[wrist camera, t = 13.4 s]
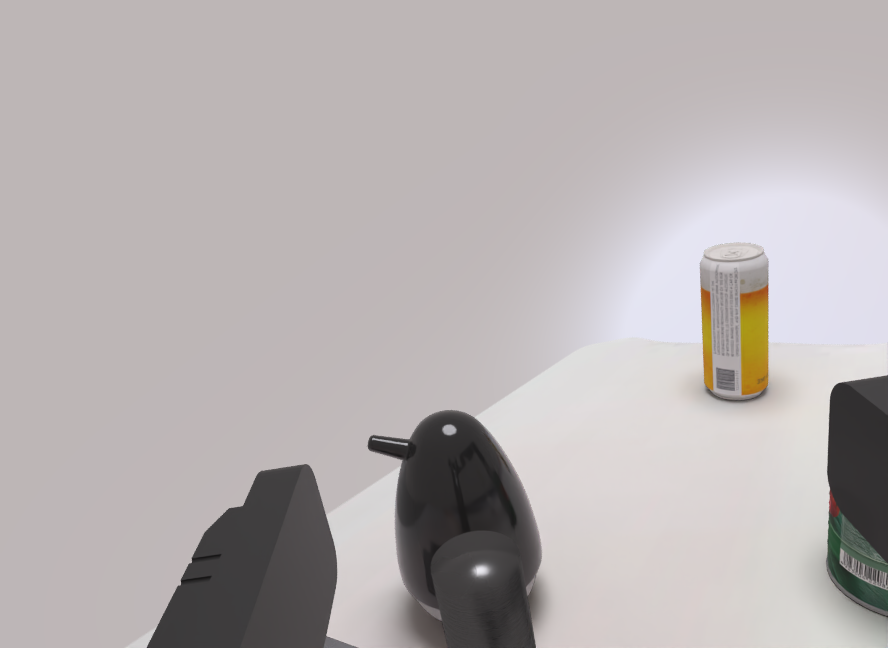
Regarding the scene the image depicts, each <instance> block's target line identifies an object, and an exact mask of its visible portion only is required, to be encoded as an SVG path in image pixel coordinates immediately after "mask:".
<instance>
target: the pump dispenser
mask: <svg viewBox="0 0 888 648" xmlns="http://www.w3.org/2000/svg"><path fill="white" fill-rule="evenodd" d="M368 449H369V450H370V451H372V452H376V453H380V454H383V455H386V456H390V457H393V458H397V459H400V460H402V465H401V469H400V473H399V478H398V484H397V491H396V501H395V538H396V550H397V559H398V565H399V570H400V574H401V577H402V580H403V583H404V585H405V587H406V588H407V590H408V591H409V592H410V594H411V595H412V596H413V597H414V598H416V599H417V601H418V602H419V603H420V605H421V606H422V607H423V608H424V609H425V610H426V611H427V612H428V613H429V614H431V615H432V616H433V617H435V618H436V619H438V620H440V621H442V619H441V614H440V610H439V606H438V601H437V597H436V592H435V588H434V584H433V579H432V575H431V568H430V567H431V561H432V558H433V556H434V554H435V553H436V551H437V550H438V549H439V548H440V547H441V546H442V545H443V544H444V543H445V542H447V541H448V540H450V539H452V538H453V537H456V536H458V535H460V534H463V533H467V532H472V531H493V532H497V533H501V534H503V535H505V536H507V537H509V538H510V539H511V540H513V541H514V542H515V543H516V545H517V546H518V548H519V550H520V554H521V560H522V566H523V572H524V578H525V584H526V590H527V596H528V595H529V593H530V591H531V589H532V587H533V584H534V581H535V578H536V573H537V571H538V569H539V567H540V564H541V559H542V547H541V540H540V535H539V530H538V527H537V523H536V520H535V517H534V513H533V510H532V507H531V504H530V502H529V499H528V496H527V494H526V491H525V489H524V487H523V484H522V482H521V480H520V478H519V476H518V474H517V472H516V471H515V469H514V467H513V465H512V463H511V462H510V460H509V459H508V457H507V455H506V454H505V452H504V451H503V449H502V448H501V446H500V445H499V443H498V442H497V441H496V439H495V438H494V437H493V436H492V434H491V433H490V432H489V431H488V430H487V429H486V428H485V427H484V426H483V425H482V424H481V423H480V422H479V421H478V420H477V419H475V418H474V417H472V416H471V415H469V414H467V413H464V412H461V411H455V410H445V411H440V412H437V413H434V414H432V415H430V416H428V417H427V418H425V419H424V420H423V421H421V422H420V424H419V425H418V426H417V428H416V429H415V431H414V432H413V434H412V436H411V438H410V439H400V438H392V437H384V436H376V435H373V436H371V437H370V438H369V441H368Z"/></svg>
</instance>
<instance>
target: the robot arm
mask: <svg viewBox="0 0 888 648" xmlns="http://www.w3.org/2000/svg"><path fill="white" fill-rule="evenodd" d="M827 475H828V482H829V486H830V490H831V493H832V496H833V498H834V500H835V502H836V504H837V506H838V508H839V509H840V511H841V512H842V514H843V515H844V516H845V517H846V518H847V519H848V521H849V522H850V523H851V524H852V525H853V526H854V527H855V528H856V529H857V531H858V532H859V533H860V534H861V535H862V536H863V537H864V538H865V539H866V541H867V542H868V543H869V544H870V545H871V546H872V547H873V548H874V549H875V551H876V552H877V553H878V554H879V555H880V556H881V557H882V558H883V559H884V561H885V562H886V563H887V564H888V375H887V376H881V377H874V378H868V379H862V380H855V381H849V382H842V383H838V384H836V385H835V386H834V388H833V390H832V392H831V396H830V413H829V439H828V466H827ZM336 583H337V559H336V551H335V546H334V542H333V538H332V535H331V531H330V528H329V524H328V521H327V517H326V514H325V511H324V507H323V504H322V501H321V497H320V493H319V490H318V486H317V483H316V479H315V476H314V473H313V471H312V469H311V468H310V466H309V465H307V464H304V465H297V466H291V467H285V468H278V469H272V470H265V471H261V472H259V473H258V474H257V476H256V478H255V480H254V483H253V485H252V487H251V490H250V492H249V494H248V496H247V498H246V501H245V503H244V505H243V506H242V507H235V508H229V509H228V510H227V511H226V512H225V513H224V514H223V515H222V516H221V517H220V518H219V519H218V520H217V521H216V522H215V523H214V524H213V525H212V526H211V527H210V528H209V529H208V530H207V531H206V532H205V533H204V535H203V537H202V539H201V541H200V543H199V545H198V547H197V549H196V551H195V553H194V555H193V557H192V563H190V564H189V565H188V567H187V569H186V571H185V573H184V575H183V577H182V579H181V585H180V586H178V587H177V589H176V591H175V593H174V594H173V596H172V599H171V600H170V602H169V604H168V606H167V608H166V610H165V613H164V614H163V616H162V618H161V620H160V623H159V624H158V626H157V628H156V630H155V632H154V634H153V636H152V638H151V640H150V642H149V644H148V646H147V648H324V644H325V639H326V634H327V629H328V624H329V619H330V614H331V609H332V604H333V599H334V594H335V589H336Z"/></svg>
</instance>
